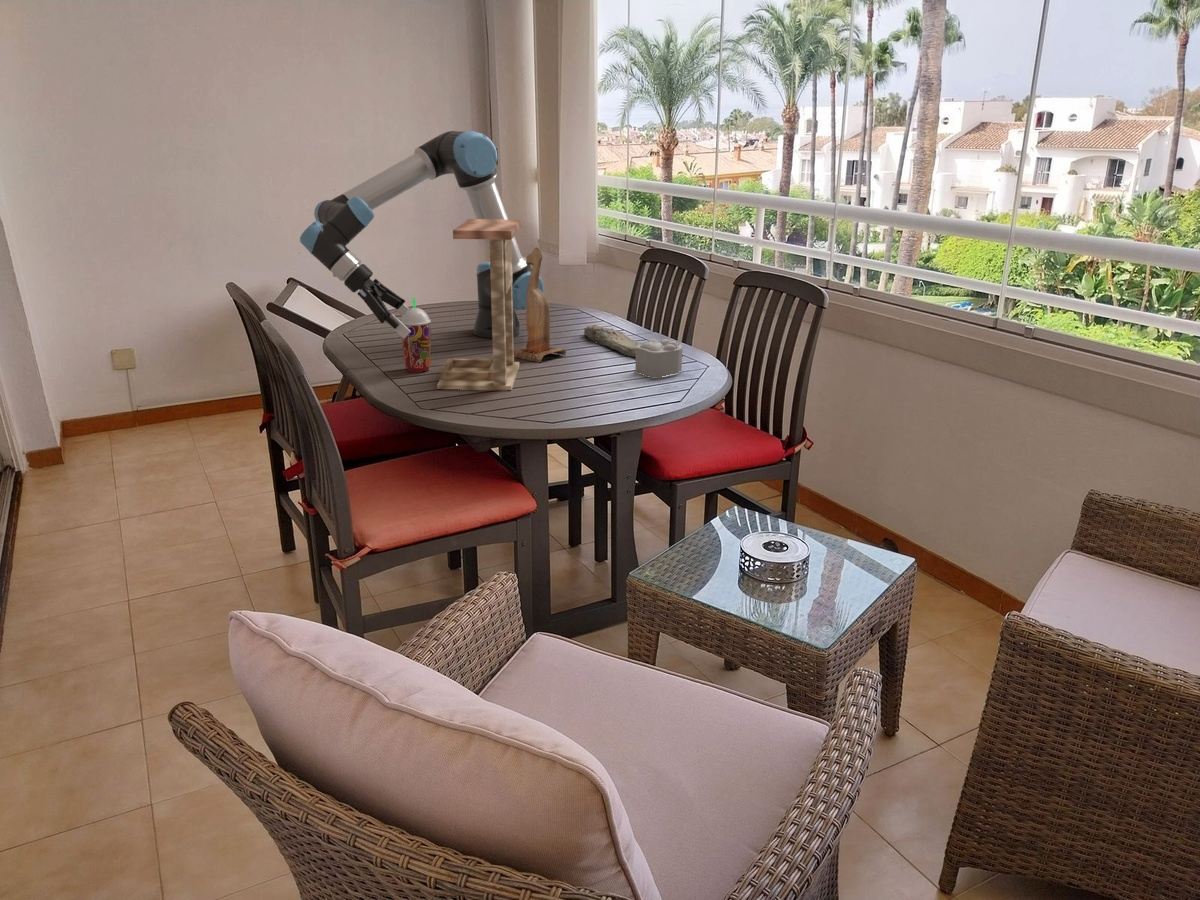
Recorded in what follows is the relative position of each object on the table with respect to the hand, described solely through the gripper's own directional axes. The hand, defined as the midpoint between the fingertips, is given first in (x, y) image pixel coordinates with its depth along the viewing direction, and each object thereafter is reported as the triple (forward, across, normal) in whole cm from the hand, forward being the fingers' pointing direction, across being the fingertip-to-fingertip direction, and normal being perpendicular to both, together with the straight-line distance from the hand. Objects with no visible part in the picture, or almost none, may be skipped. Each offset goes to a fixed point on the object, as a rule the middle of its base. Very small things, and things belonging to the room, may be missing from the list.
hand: (412, 329), depth 235 cm
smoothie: (+9, 0, -8) cm, 12 cm away
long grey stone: (+48, -32, +31) cm, 65 cm away
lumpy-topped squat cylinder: (+56, -3, +40) cm, 69 cm away
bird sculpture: (+32, -17, +15) cm, 39 cm away
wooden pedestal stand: (+22, +6, +5) cm, 23 cm away
